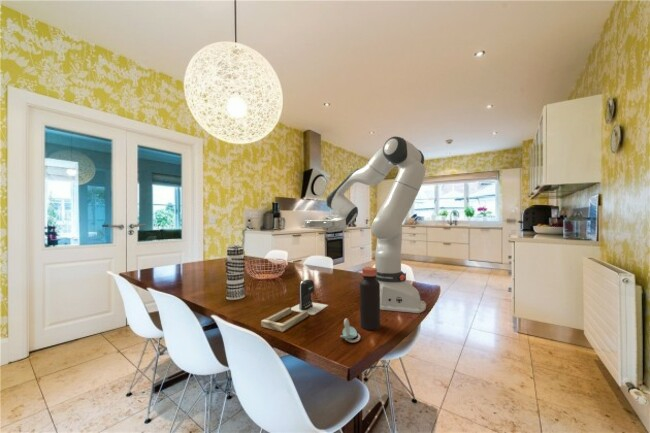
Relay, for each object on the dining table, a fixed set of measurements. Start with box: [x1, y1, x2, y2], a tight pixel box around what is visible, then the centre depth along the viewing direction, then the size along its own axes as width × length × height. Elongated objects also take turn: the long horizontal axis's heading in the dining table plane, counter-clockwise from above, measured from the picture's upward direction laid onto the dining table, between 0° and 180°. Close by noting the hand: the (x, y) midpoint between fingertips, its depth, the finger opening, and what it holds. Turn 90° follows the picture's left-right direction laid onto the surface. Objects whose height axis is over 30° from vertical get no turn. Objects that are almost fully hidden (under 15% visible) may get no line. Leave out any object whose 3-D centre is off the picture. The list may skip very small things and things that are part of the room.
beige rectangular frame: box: [260, 307, 309, 333], centre depth 95 cm, size 9×16×2 cm, turn 151°
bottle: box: [359, 266, 381, 331], centre depth 90 cm, size 7×7×20 cm
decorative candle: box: [225, 244, 246, 301], centre depth 126 cm, size 9×9×25 cm
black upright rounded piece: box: [298, 278, 315, 310], centre depth 108 cm, size 7×4×11 cm, turn 152°
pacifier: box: [339, 317, 361, 344], centre depth 81 cm, size 7×6×6 cm
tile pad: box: [290, 301, 329, 316], centre depth 109 cm, size 12×12×1 cm
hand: (316, 224), depth 119 cm, fingers open, 8 cm apart
